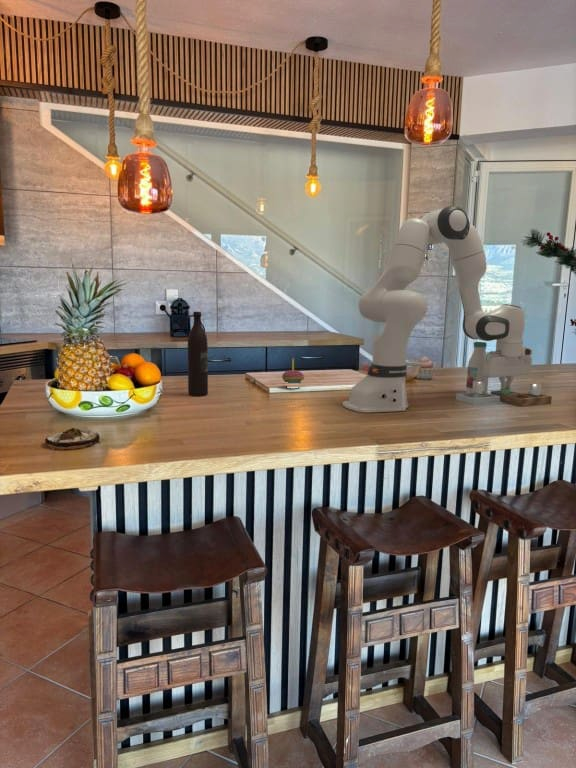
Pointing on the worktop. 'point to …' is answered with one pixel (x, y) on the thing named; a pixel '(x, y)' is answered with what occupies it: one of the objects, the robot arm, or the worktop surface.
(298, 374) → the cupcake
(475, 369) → the milk bottle
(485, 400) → the tray
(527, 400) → the pallet
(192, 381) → the wine bottle
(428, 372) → the cupcake
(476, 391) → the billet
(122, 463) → the worktop surface
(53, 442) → the chocolate cream tart
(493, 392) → the console
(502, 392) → the button
